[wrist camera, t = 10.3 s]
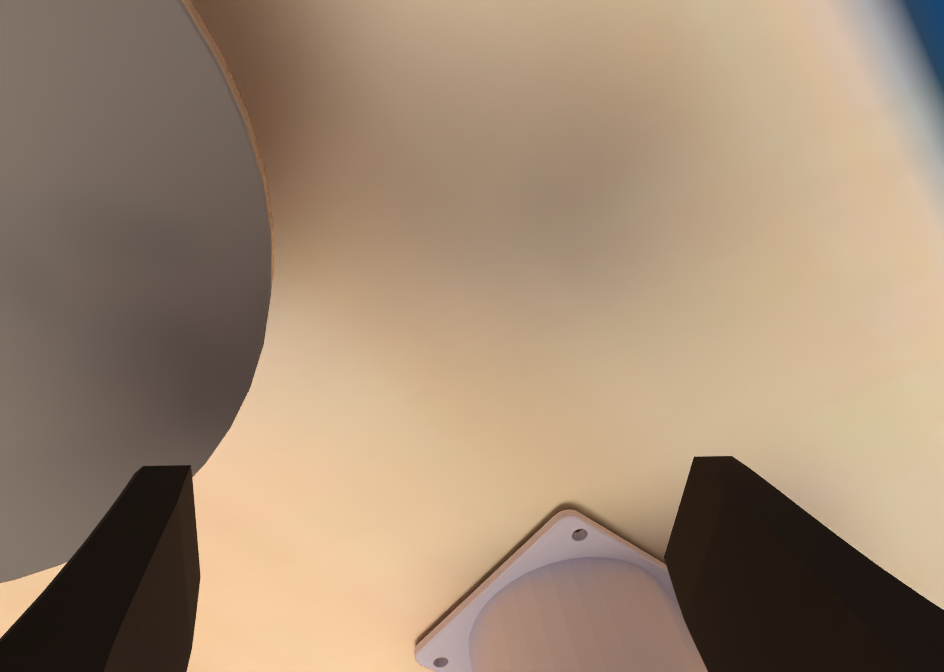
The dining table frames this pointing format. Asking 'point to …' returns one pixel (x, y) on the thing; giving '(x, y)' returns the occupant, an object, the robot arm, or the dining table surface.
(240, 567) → the dining table surface
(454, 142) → the dining table surface
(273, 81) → the dining table surface
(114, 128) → the lid
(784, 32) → the dining table surface
